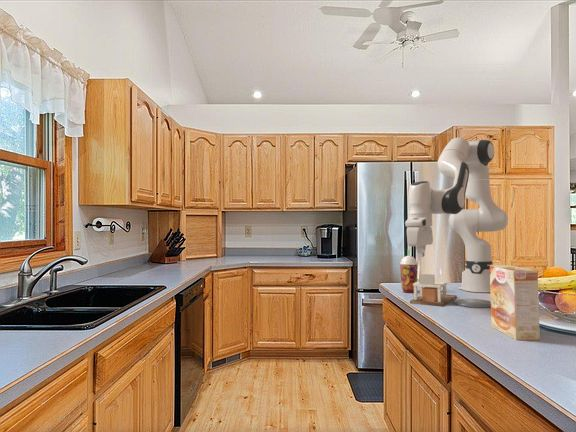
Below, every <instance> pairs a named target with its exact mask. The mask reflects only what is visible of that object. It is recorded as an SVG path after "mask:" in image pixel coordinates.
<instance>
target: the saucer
mask: <svg viewBox="0 0 576 432" xmlns="http://www.w3.org/2000/svg"><path fill="white" fill-rule="evenodd" d="M454 305H456V306H459V307H462V308H469V309H470V308H471V309H489V308H490V309H491V300H486V299H481V298H480V299H479V298H478V299H477V298H460V299H459V298H458V299H454Z"/></svg>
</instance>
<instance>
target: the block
mask: <svg viewBox="0 0 576 432" xmlns="http://www.w3.org/2000/svg"><path fill="white" fill-rule="evenodd" d="M422 301H430V302H437V301H438V289H437V288H435V287H423V288H422Z"/></svg>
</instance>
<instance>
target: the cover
mask: <svg viewBox="0 0 576 432" xmlns="http://www.w3.org/2000/svg"><path fill="white" fill-rule="evenodd" d="M447 283H448V282H445V281H436V280H435V274H429V273H418V280H417V282H415V283H413V286H414V293H413V299H414V300H417V297H418V287H419V296H420V297H422V288H424V287H435V288H437V289H438V302H441V294H443V299H446V294H447Z"/></svg>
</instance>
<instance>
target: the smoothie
mask: <svg viewBox="0 0 576 432" xmlns="http://www.w3.org/2000/svg"><path fill="white" fill-rule="evenodd" d="M418 264H419V263H418V262H417V260H416V258H415V257H414V256H412V255H410V250H409V249H407V255H405V256H403V257H402V259H401V260H400V262H399V271H400V283H401V290H402V292H404V293H406V294H414V286H413V283H415V282H418V268H419V267H418Z"/></svg>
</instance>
